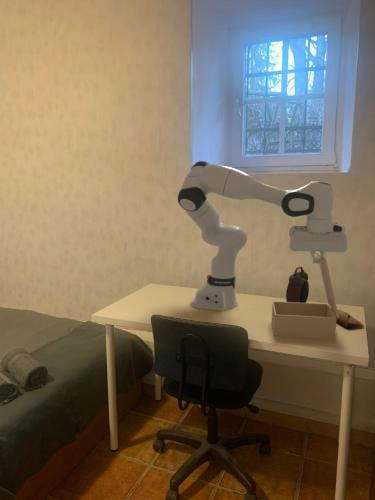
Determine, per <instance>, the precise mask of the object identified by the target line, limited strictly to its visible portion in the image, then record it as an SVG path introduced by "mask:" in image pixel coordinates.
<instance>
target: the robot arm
mask: <svg viewBox="0 0 375 500" xmlns="http://www.w3.org/2000/svg"><path fill="white" fill-rule="evenodd" d="M211 193H213V194H216V195H219V196H221V197H225V198H228V199H232V200H233V199H234V200H241V201H243V200H250V199H251V200H252V199H253V200H254V199H255V200H258V201H259V200H260V201H264V202H267V203H270V204H273V205H276V206H279V207H280V208H281V209H282V211H283V213H284V214H285V215H286V216H288V217H292V218H296V217H297V218H298V217H302V216H306V220H305V221H306V225H294V226H292V227H291V228H290V229H289V233H288V235H289V238H290V239H289V246H288V248H289V250H290V251H291V252H292V251H293V252H309V253H310V256H311V257H312V263H313V264H319V263H321V258H322V257H324V255H325V253H327V252H328V253H331V252H333V253H346V251H347V250H348V238H347V235H346V233H345V232H346V227H345V226H344V225H343V224H340V223H338V222H334V221H333V215H332V211H333V210H332V209H333V207H334V189H333V186H332V185H331V184H330V183H328V182H324V181H317V180H312V181H310V182H309V183H308V184H305V185H303V186H302V187H300V188H292V189H291V188H290V189H282V188H279V187H275V186H271V185H269V184H265V183H263V182H260V181H259V180H257V179H255V177H252V176H251V175H250V174H248V173H246V172H244V171H241V170H240V169H237V168H233V167H230V166H226V165H222V164H221V165H220V164H216V163H209V162H207V161H203V160H199V161H197V162H195V163H194V165H192V167H191V168H190V170H189V172H188V173H187V175H186V176H185V178H184V181H183V183H182V186H181V188H180V190H179V192H178V194H177V203H178V204H179V206H180V207H181V208H182V209H183V210H184V212H185V213H186V214H187V215H188V216H189V218H190V219H191V220H192V221H193V223H195V224H196V225H197V226H198V227H199V229H200V231H201V233H200V234H201V238H202V240H203V242H205V243H207V244H209V245H210V246H213V247H214V246H215V247H218V249H217V250H218V251H217V254H216V255H215V256H214V257H212V259H211V267H210V268H211V272H210V273H211V274H210V273H208V274H207V275H206V283H205V284H203V285H202V286H201V287H200V288H198V289H197V291H196V293H195V297H193V298H192V299H191V300H190V303H189V304H190V306H191V307H192V308H198V309H207V310H213V311H225V310H230V309H234V308H236V307H237V306H238V301H237V297H236V284H237V283H236V276H235V274H236V273H235V271H236V259H237V256H238V254H239V252H240V250H242V249H243V248H244V247H245V246H246V244H247V241H248V234H247V232H246V230H245V229H244V228H242V227H240V226H237V225H234V224H226V223H224V222H222V221H221V219H220V211H219V210H218V209H217V208H216V207H215V205H214V204H213V203H212V201H210V200H209V198H208V195H209V194H211ZM317 251H318V252H319V253H320V256H319V257H318V256H317V257H315V254H316V252H317Z"/></svg>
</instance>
